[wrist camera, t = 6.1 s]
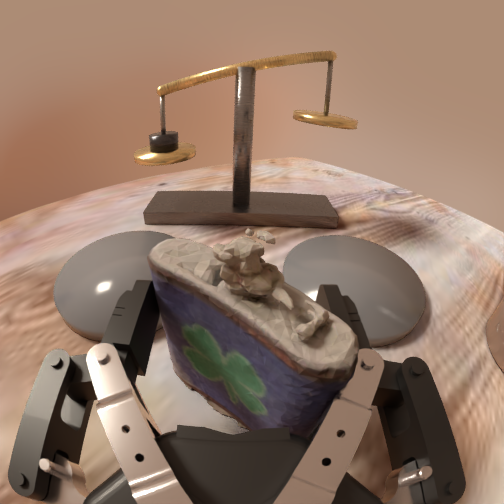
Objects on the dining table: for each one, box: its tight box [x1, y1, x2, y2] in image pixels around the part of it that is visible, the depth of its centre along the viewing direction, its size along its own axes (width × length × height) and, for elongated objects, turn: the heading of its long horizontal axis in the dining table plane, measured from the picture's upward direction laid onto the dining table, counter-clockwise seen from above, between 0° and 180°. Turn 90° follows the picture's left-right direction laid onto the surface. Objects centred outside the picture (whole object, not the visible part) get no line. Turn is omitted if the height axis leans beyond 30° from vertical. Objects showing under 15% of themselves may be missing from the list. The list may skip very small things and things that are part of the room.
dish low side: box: [54, 231, 174, 341], centre depth 22 cm, size 13×13×1 cm
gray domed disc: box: [282, 235, 426, 347], centre depth 23 cm, size 13×13×1 cm
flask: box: [147, 229, 359, 438], centre depth 11 cm, size 9×3×11 cm, turn 51°
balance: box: [134, 51, 358, 228], centre depth 27 cm, size 24×7×20 cm, turn 91°
